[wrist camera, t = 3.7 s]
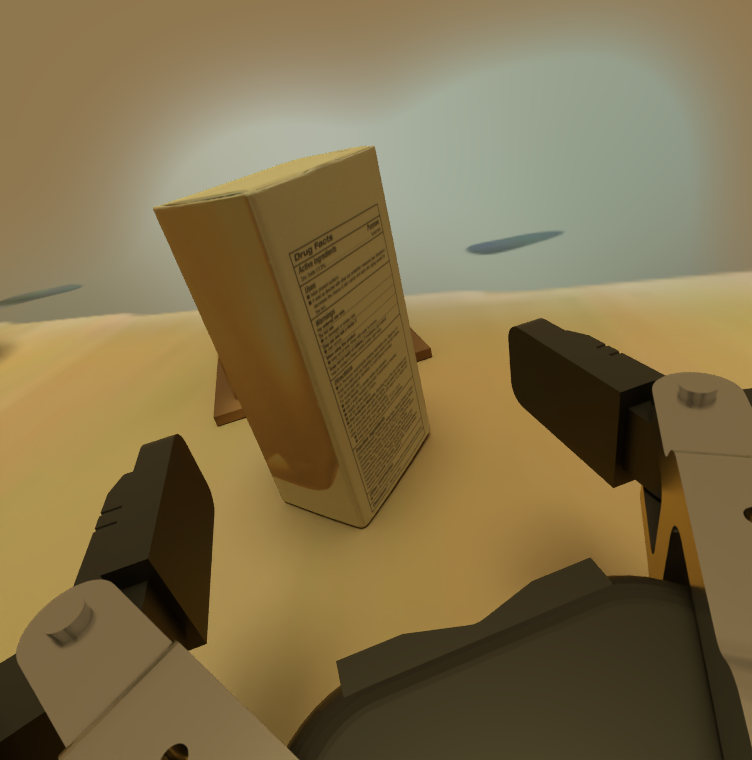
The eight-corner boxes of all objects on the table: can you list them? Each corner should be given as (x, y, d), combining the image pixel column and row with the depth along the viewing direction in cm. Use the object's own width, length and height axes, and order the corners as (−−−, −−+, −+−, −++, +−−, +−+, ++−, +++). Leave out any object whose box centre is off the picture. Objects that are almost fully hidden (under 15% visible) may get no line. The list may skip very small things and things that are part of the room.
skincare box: (357, 418, 23) (285, 159, 17) (434, 432, 21) (382, 139, 15) (275, 508, 19) (141, 201, 13) (362, 538, 17) (247, 182, 11)
